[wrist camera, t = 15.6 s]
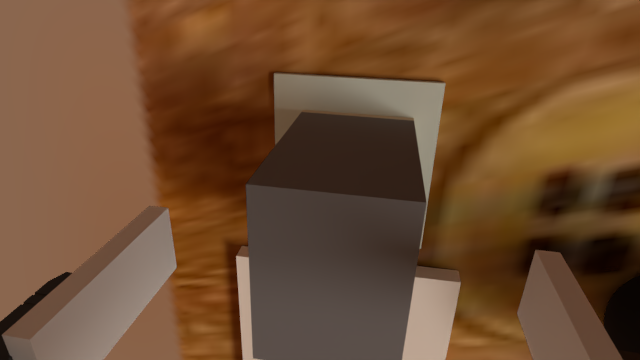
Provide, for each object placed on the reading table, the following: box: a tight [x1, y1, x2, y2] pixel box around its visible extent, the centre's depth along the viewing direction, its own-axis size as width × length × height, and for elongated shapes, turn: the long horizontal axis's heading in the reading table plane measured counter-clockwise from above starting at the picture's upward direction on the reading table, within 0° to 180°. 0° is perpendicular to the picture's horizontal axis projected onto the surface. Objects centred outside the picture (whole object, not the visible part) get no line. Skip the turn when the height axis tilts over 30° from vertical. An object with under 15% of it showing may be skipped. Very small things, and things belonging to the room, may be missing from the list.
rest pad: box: [274, 72, 445, 249], centre depth 24 cm, size 10×9×1 cm
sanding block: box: [246, 110, 427, 360], centre depth 20 cm, size 8×6×10 cm
